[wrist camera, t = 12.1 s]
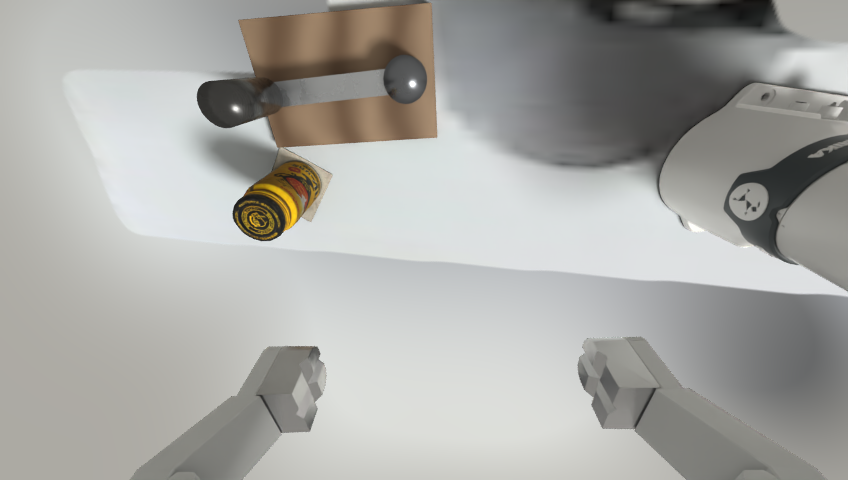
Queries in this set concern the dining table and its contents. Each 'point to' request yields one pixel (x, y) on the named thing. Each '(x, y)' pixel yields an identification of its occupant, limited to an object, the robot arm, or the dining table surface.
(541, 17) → the dining table surface
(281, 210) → the condiment
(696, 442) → the robot arm
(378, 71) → the lever
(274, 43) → the board
